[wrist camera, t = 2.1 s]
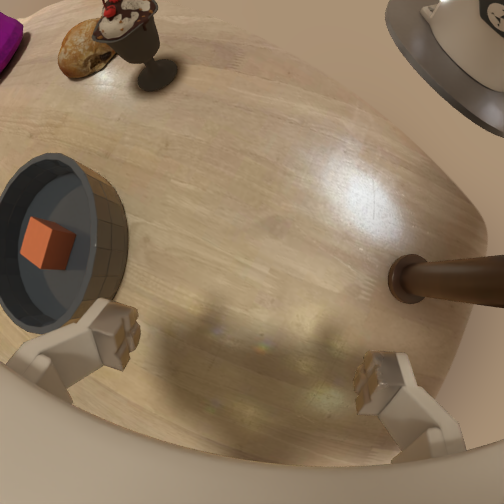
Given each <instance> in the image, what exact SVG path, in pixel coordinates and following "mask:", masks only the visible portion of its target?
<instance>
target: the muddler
mask: <svg viewBox="0 0 504 504" xmlns="http://www.w3.org/2000/svg"><path fill="white" fill-rule="evenodd" d="M388 284H389V288H390V291H391V293H392V295H393V296H394V297H395V298H396V299H397V300H399V301H401V302H403V303H408V304H414V303H418V302H420V301H421V300H423V299H424V298H425V297H428V298H435V299H442V300H449V301H456V302H463V303H470V304H477V305H484V306H492V307H499V308H504V255H498V256H488V257H478V258H467V259H457V260H446V261H434V262H427V261H426V260H425V259H424V258H422V257H421V256H419V255H415V254H411V255H404V256H402V257H400V258H398V259H397V260H396V261H395V262H394V263H393V265H392V266H391V268H390V271H389V275H388Z"/></svg>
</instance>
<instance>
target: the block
mask: <svg viewBox="0 0 504 504" xmlns="http://www.w3.org/2000/svg"><path fill="white" fill-rule="evenodd" d="M75 237H76V234H75V233H73V232H71V231H69V230H67V229H66V228H64V227H62V226H60V225H59V224H57V223H55V222H52V221H48V220H44V219H40V218H36V217H32V216H31V217H30V220H29V223H28V226H27V230H26V233H25V236H24V240H23V243H22V247H21V251H20V254H21V255H23V256H24V257H25V258H27V259H28V260H29V261H30V262H32V263H33V264H34V265H36V266H37V267H38V268H40V269H51V270H65V269H66V266H67V262H68V259H69V256H70V253H71V249H72V246H73V243H74V240H75Z"/></svg>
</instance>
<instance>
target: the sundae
mask: <svg viewBox="0 0 504 504" xmlns="http://www.w3.org/2000/svg"><path fill="white" fill-rule="evenodd" d="M102 1H103V5H104V7H103V10H102V16H101V19H100V20H99V21H98V23H97V24H96V26H95V29H94V31H93V34H92V40H93V41H96V42H99V43H106V44H107V45H109V46H110V47H111V48H112V49H113V50H114V51H115V52H116V53H117V54H118V55H119V56H120V57H122V58H123V59H124V60H126V61H127V62H129V63H132V64H140V63H144V64H145V66H146V67H145V68H144V69H143V70H142V72H141V73H140V75H139V77H138V85H139V87H140V88H141V89H142V90H145V91H154V90H158V89H161V88H163V87H164V86H166V85H168V84H169V83H170V82H171V81H172V80H173V79H174V77H175V75H176V73H177V65H176V64H175V63H174V62H173V61H171V60H166V59H162V60H157V61H155V60H154V58H153V56H154V55H155V54H156V52H157V51H158V49H159V47H160V42H159V36H158V32H157V29H156V26H155V22H154V17H153V15H154V14H155V13H156V12H157V10H158V5H157V3H156V2H155V0H108V1H107V2H106V3H105V1H104V0H102Z"/></svg>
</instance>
